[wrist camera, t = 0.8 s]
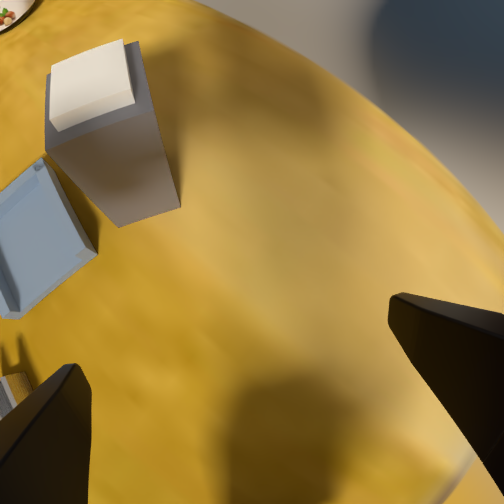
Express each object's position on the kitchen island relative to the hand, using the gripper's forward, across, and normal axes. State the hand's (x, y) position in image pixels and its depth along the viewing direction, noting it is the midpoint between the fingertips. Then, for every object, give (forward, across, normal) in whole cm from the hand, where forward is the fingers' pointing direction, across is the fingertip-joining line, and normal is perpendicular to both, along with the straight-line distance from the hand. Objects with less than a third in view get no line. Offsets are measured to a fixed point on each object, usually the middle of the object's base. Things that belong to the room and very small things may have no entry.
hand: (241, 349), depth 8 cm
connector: (+18, +4, -3) cm, 19 cm away
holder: (+17, +14, -1) cm, 22 cm away
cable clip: (+11, +18, +10) cm, 23 cm away
